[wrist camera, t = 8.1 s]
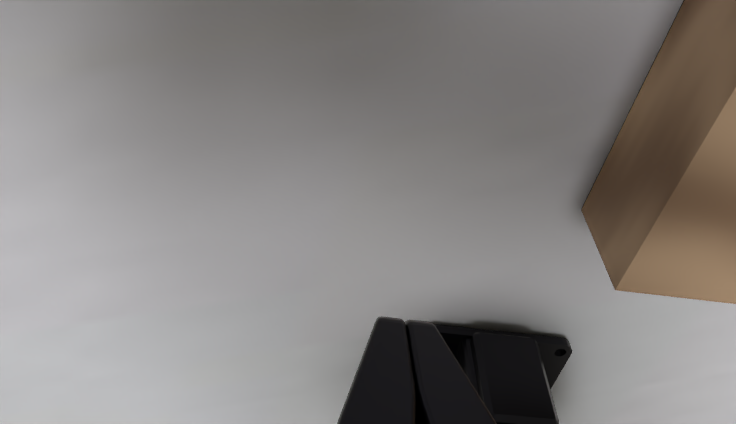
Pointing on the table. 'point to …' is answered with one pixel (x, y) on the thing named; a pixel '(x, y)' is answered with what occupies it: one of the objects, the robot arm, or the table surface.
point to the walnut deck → (676, 168)
